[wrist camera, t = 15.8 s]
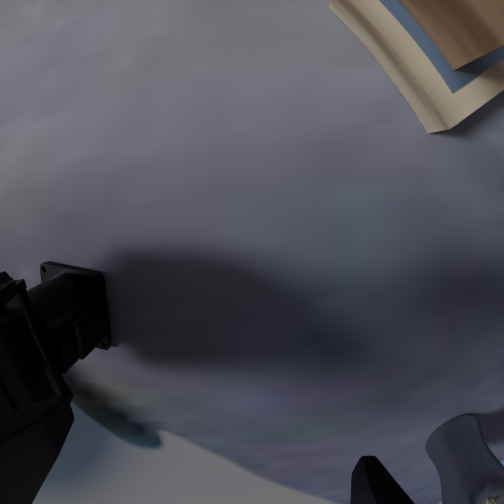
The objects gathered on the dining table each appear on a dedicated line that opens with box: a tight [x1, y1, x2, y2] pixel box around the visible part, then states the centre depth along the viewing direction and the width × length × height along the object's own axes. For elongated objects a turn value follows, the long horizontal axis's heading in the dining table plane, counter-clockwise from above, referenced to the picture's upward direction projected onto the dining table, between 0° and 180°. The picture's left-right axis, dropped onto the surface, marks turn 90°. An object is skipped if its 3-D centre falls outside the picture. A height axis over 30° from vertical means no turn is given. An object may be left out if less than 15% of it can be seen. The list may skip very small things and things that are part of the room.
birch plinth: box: [329, 0, 504, 133], centre depth 13 cm, size 10×10×3 cm
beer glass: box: [426, 415, 504, 504], centre depth 15 cm, size 7×7×15 cm
